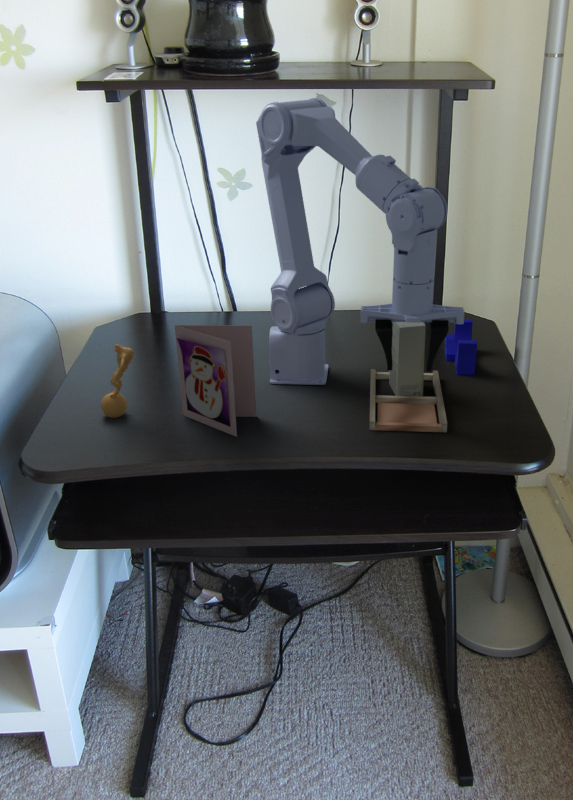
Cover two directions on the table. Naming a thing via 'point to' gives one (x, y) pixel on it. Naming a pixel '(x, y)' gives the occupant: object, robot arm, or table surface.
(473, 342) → the cable clip
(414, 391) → the skincare box
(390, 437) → the table surface
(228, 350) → the greeting card
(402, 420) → the pink framed panel
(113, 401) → the figurine
